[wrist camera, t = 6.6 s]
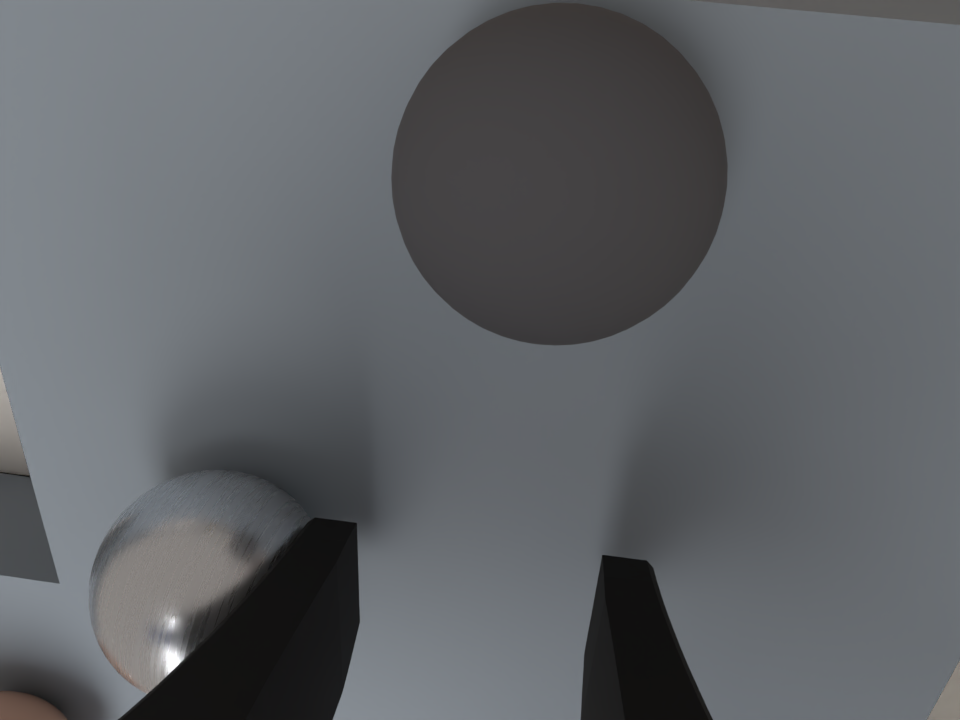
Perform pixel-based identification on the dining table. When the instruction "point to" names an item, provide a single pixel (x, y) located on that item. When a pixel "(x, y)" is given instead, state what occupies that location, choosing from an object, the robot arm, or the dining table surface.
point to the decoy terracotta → (27, 707)
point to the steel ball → (184, 566)
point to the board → (490, 356)
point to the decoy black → (559, 174)
